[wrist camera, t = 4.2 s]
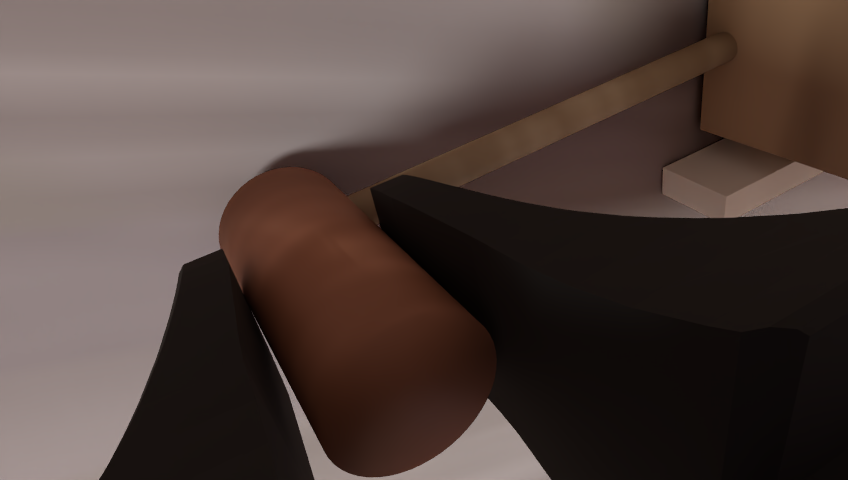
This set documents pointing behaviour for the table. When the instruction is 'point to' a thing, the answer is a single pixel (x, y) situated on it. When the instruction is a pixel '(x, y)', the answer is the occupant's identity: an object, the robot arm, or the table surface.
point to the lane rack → (731, 178)
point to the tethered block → (386, 261)
